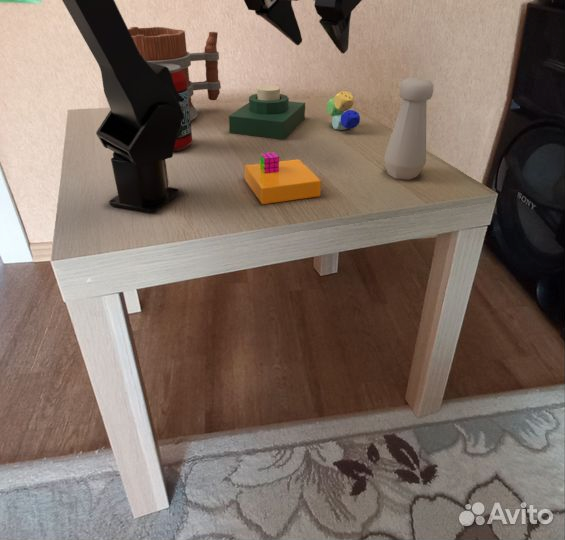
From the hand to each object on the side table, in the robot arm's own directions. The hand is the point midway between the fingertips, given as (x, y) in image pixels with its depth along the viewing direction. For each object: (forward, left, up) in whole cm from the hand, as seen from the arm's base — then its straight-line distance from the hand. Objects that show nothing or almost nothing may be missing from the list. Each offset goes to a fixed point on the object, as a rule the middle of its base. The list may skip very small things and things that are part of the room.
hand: (321, 47), depth 69 cm
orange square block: (-18, 0, -15) cm, 23 cm away
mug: (+7, +30, -15) cm, 34 cm away
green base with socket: (+8, +11, -15) cm, 20 cm away
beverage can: (-8, +22, -15) cm, 28 cm away
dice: (+11, -2, -15) cm, 19 cm away
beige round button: (+8, +11, -10) cm, 17 cm away
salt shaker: (-7, -15, -15) cm, 22 cm away
